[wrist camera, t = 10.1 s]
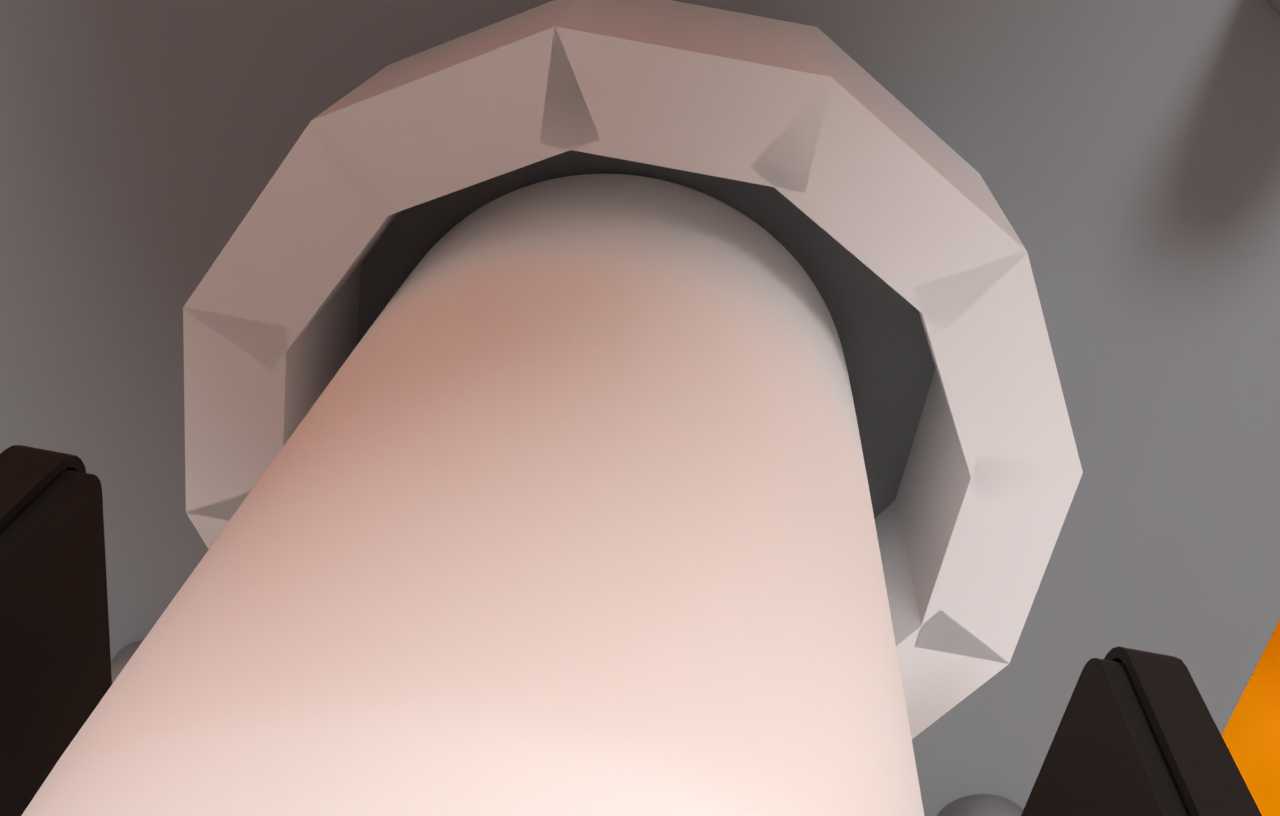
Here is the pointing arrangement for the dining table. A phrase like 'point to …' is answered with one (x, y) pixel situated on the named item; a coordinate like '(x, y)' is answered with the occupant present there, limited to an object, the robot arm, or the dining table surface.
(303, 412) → the carrier plate
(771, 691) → the can
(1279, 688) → the dining table surface
